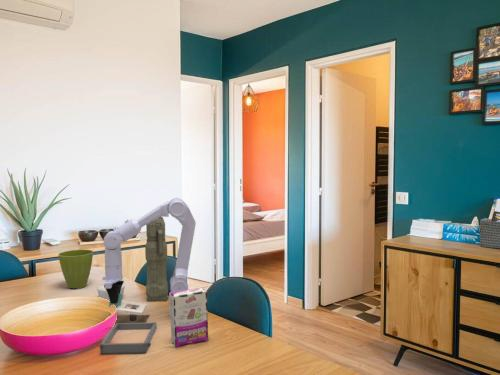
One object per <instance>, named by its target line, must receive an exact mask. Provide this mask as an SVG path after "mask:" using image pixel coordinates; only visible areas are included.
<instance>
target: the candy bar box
mask: <svg viewBox="0 0 500 375" xmlns="http://www.w3.org/2000/svg"><path fill="white" fill-rule="evenodd" d="M169 293H170V292H169ZM170 312H171V317H170V332H171V333H170V335H171V338H170V339H171V341H172V344H173V347H175V348H181V347H185V346H189V345H193V344H198V343H202V342H208V341H209V325H208V322H209V321H208V320H209V318H208V291H207V289H205V288H204V287H198V288H192V289H191V288H190V289H188V290H184V291H178V292H172V293H170ZM170 312H169V313H170Z"/></svg>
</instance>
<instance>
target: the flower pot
mask: <svg viewBox="0 0 500 375" xmlns="http://www.w3.org/2000/svg"><path fill="white" fill-rule="evenodd" d="M57 257H58V261H59V264H60V269H61V272H62V276H63V277H64V280H65V283H66V285H67V287H68V288H69V289H70V288H79V289H83V288H85V287H86V286H87V283H88V281H89V277H90V275H91V274H90V273H91V270H92V264H93V257H94V250H91V249H72V250H65V251H62V252H60V253H58V254H57ZM82 287H83V288H82Z"/></svg>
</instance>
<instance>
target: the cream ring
mask: <svg viewBox="0 0 500 375" xmlns="http://www.w3.org/2000/svg"><path fill="white" fill-rule="evenodd" d="M122 295H123V296H124V293H123V294H118V301H117V303H116V304H114V305H115V306H116V308H115V309H117V312H116V313H119V314H125V315H130V314H134V315H144V314H143V313H144V312H145V311H146V309H147V307H148V304H147V303H143V302H142V303H140V302H133V301H127V300H126V301H125V300H123V297H122ZM111 305H113V304H111V302H108V307H109V308H111V307H110V306H111ZM133 305H136V309H130V308H131V307H132V306H133ZM127 307H128V308H127ZM129 307H130V308H129Z"/></svg>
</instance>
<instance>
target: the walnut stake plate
mask: <svg viewBox="0 0 500 375" xmlns="http://www.w3.org/2000/svg"><path fill="white" fill-rule="evenodd" d="M116 315H117V314H116ZM150 316H151V314H142V315H137V320H136V321H130V314H120V315H119V314H118V315H117V320H116V322H115V324H116V323H147V322H148V319H149V318H150ZM114 326H115V325H114Z"/></svg>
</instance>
